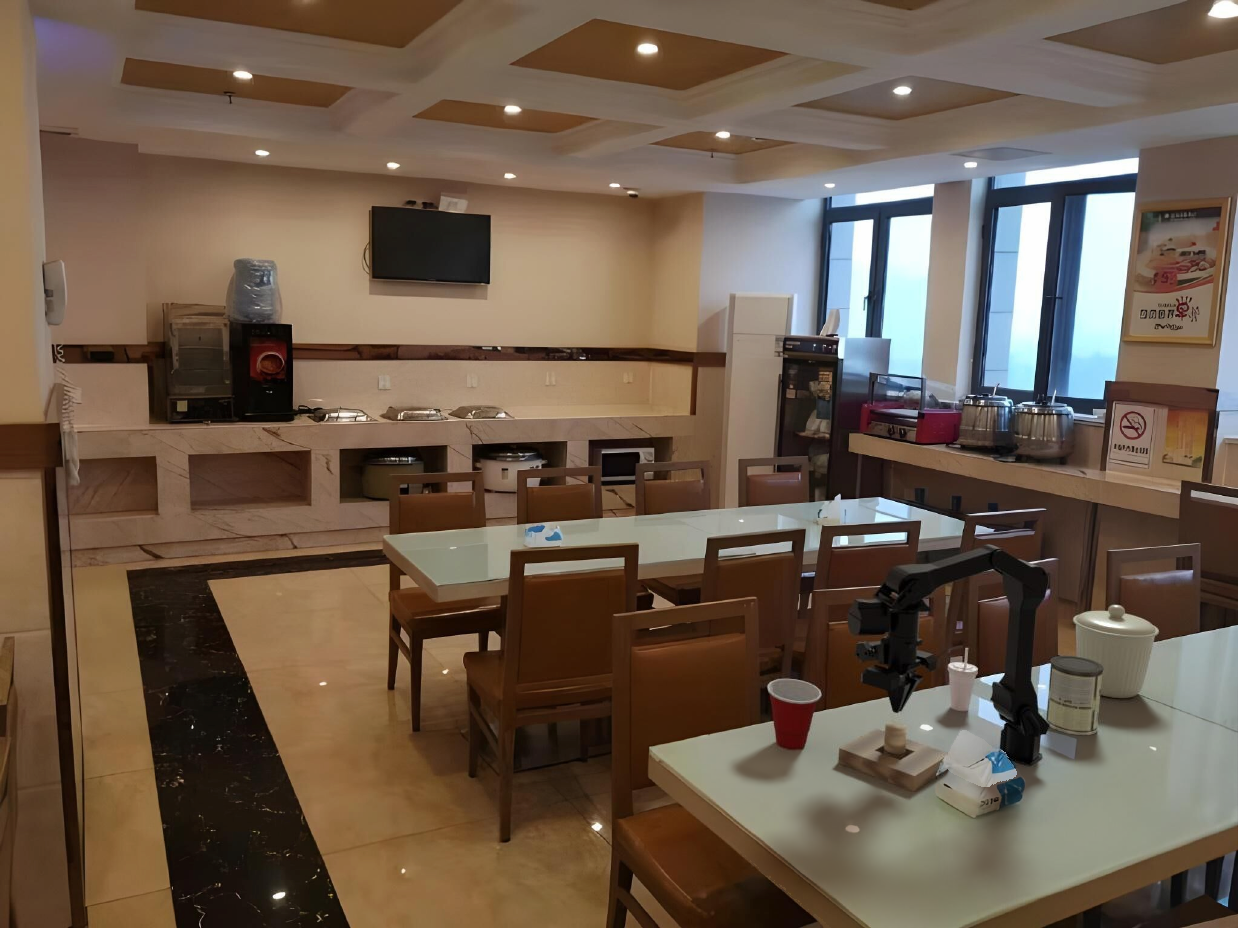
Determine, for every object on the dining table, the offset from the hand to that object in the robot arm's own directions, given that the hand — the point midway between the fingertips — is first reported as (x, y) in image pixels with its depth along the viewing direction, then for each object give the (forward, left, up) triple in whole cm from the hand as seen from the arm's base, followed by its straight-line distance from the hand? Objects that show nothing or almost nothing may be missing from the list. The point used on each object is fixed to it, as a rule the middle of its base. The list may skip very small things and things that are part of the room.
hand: (897, 711), depth 185 cm
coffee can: (-16, -47, -11) cm, 51 cm away
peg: (0, 0, -11) cm, 11 cm away
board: (0, 0, -11) cm, 11 cm away
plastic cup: (+19, +7, -11) cm, 23 cm away
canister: (-14, -76, -11) cm, 78 cm away
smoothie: (+5, -38, -11) cm, 40 cm away
